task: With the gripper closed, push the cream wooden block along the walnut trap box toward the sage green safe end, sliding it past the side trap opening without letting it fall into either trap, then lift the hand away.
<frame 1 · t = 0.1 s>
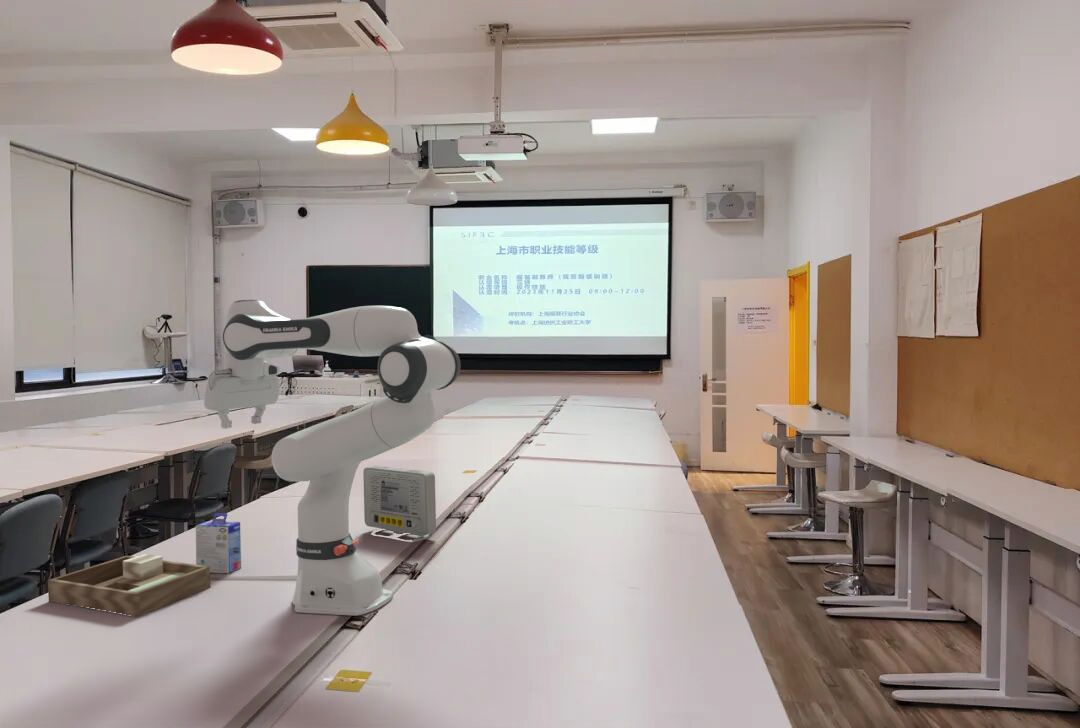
hand: (241, 425, 173), 39 cm above the table, tool pointing down, fingers open, 8 cm apart
network device: (399, 536, 218), on the table
block: (143, 575, 175), point 3 cm above the table, touching trap box
ink cartridge box: (219, 570, 188), on the table
trap box: (131, 594, 170), on the table
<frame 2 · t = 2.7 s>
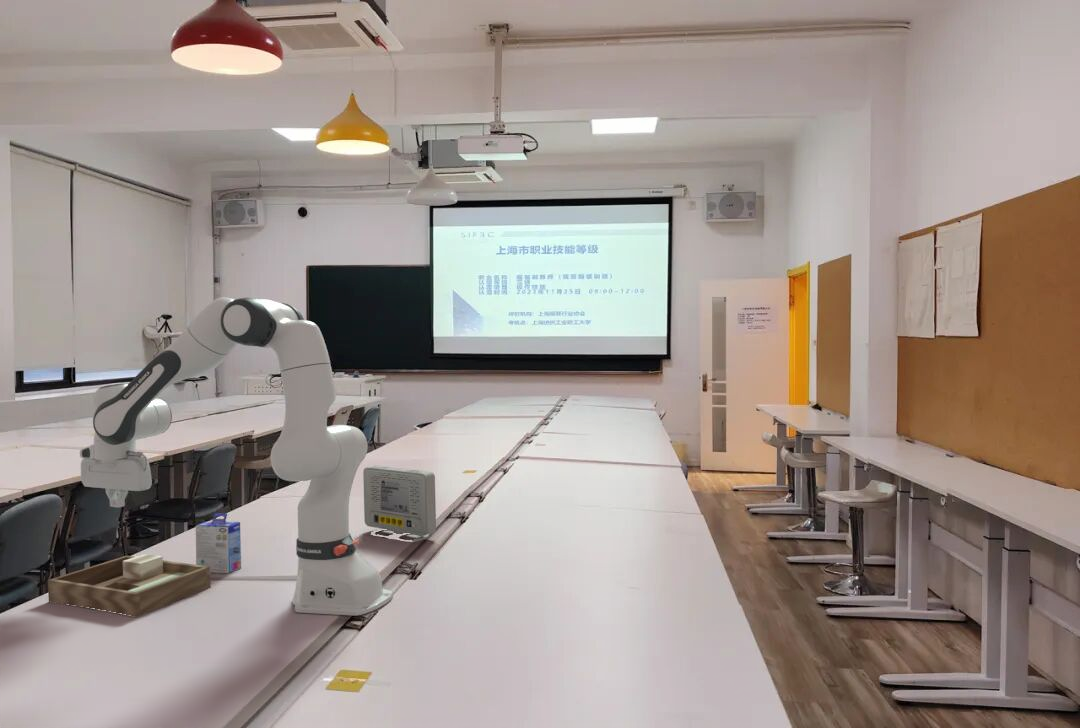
hand: (117, 506, 177), 19 cm above the table, tool pointing down, fingers closed
nothing on the table moved.
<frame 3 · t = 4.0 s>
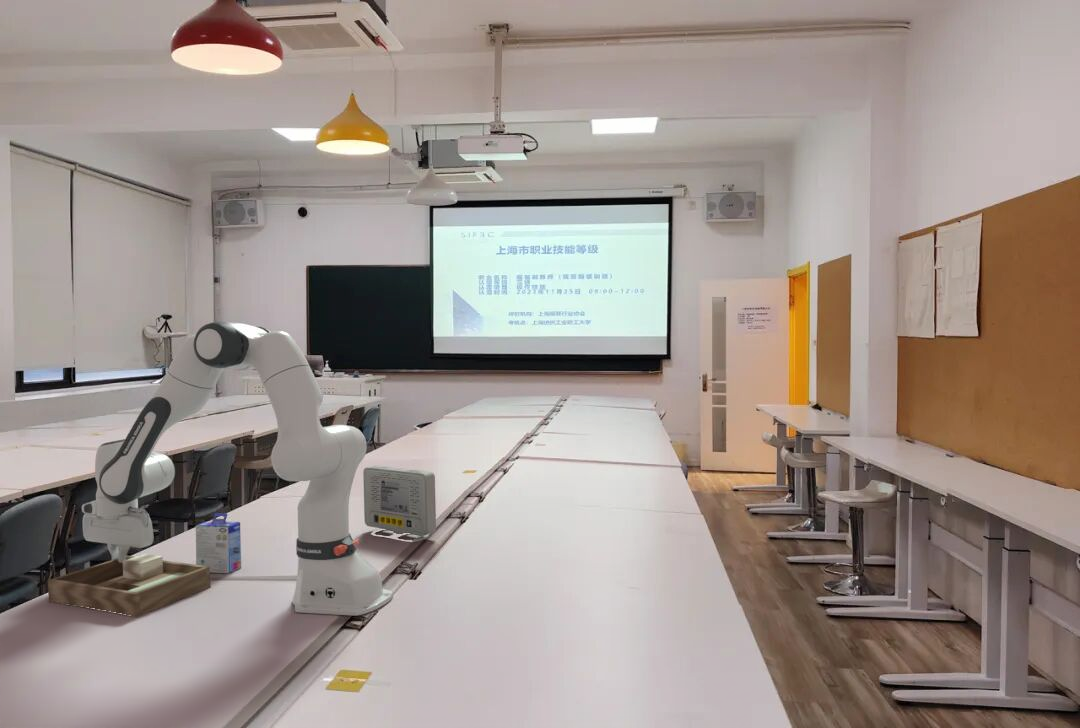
hand: (119, 561, 178), 5 cm above the table, tool pointing down, fingers closed
nothing on the table moved.
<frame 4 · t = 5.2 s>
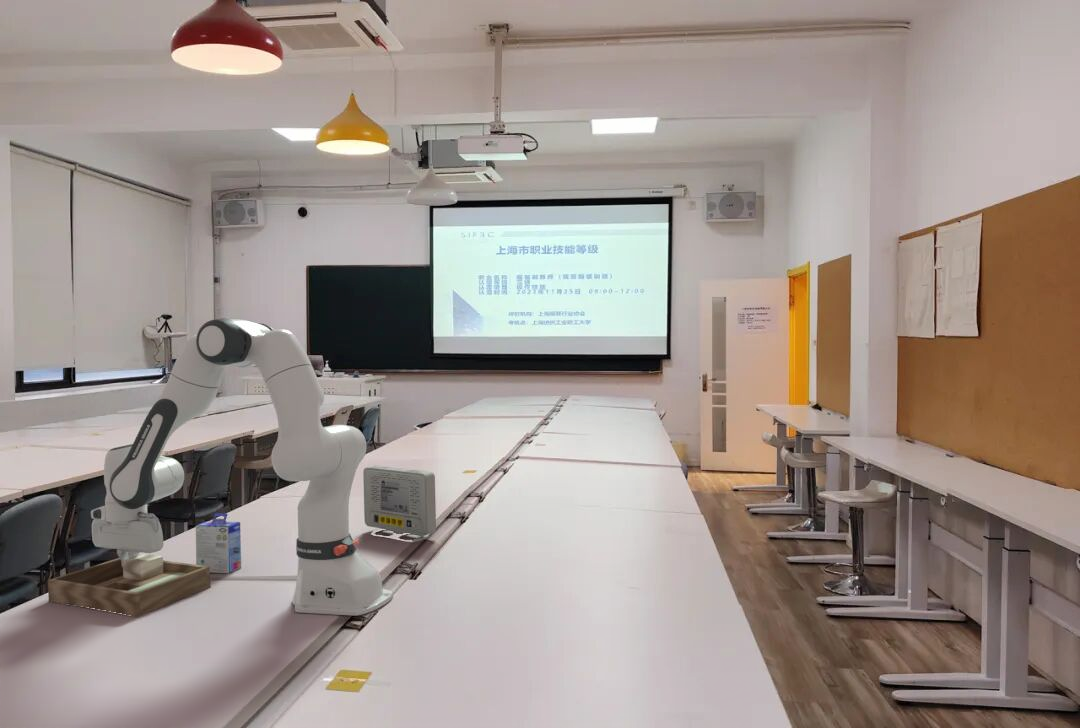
hand: (128, 567, 177), 4 cm above the table, tool pointing down, fingers closed
block: (143, 575, 175), point 3 cm above the table, touching gripper, trap box
everything else where it was.
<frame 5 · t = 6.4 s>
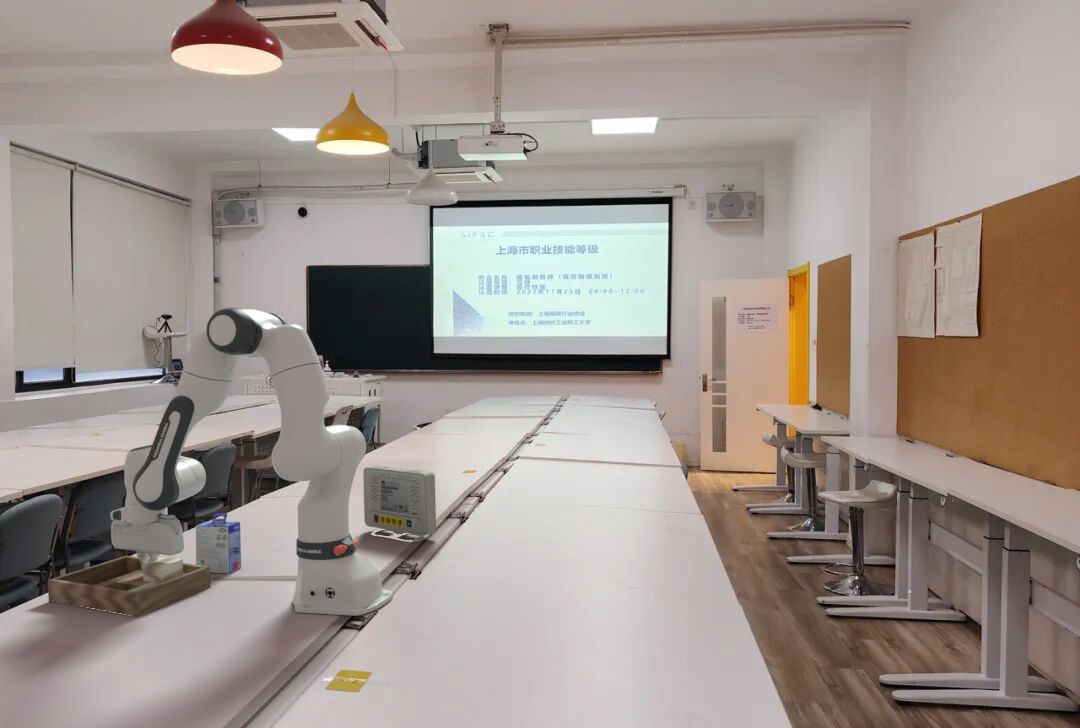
hand: (148, 569, 174), 5 cm above the table, tool pointing down, fingers closed
block: (163, 578, 172), point 3 cm above the table, touching gripper, trap box
everything else where it was.
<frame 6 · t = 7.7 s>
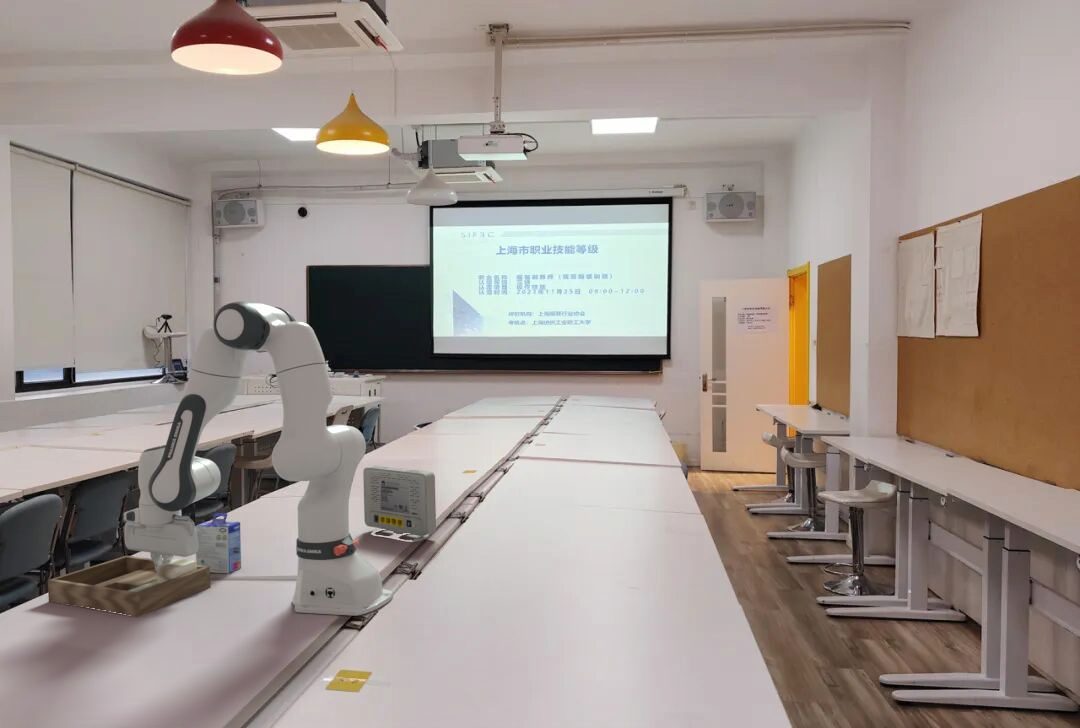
hand: (162, 571, 172), 5 cm above the table, tool pointing down, fingers closed
block: (177, 580, 171), point 3 cm above the table, touching gripper, trap box
everything else where it was.
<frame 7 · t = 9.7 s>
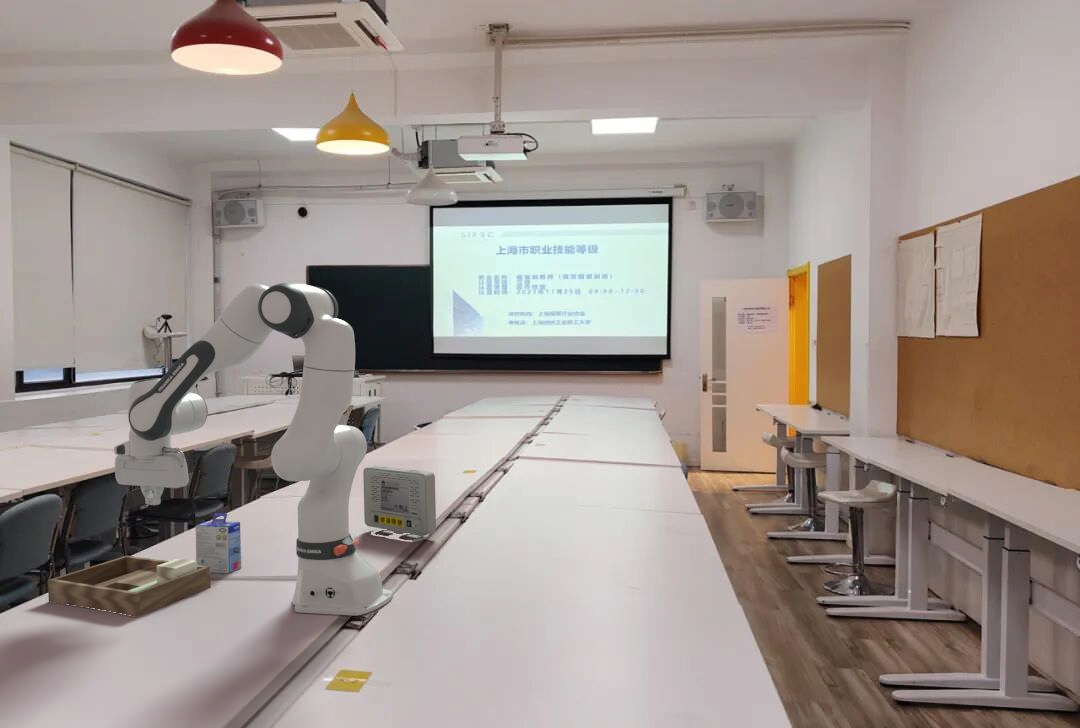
hand: (153, 504, 173), 20 cm above the table, tool pointing down, fingers closed
block: (177, 580, 171), point 3 cm above the table, touching trap box
everything else where it was.
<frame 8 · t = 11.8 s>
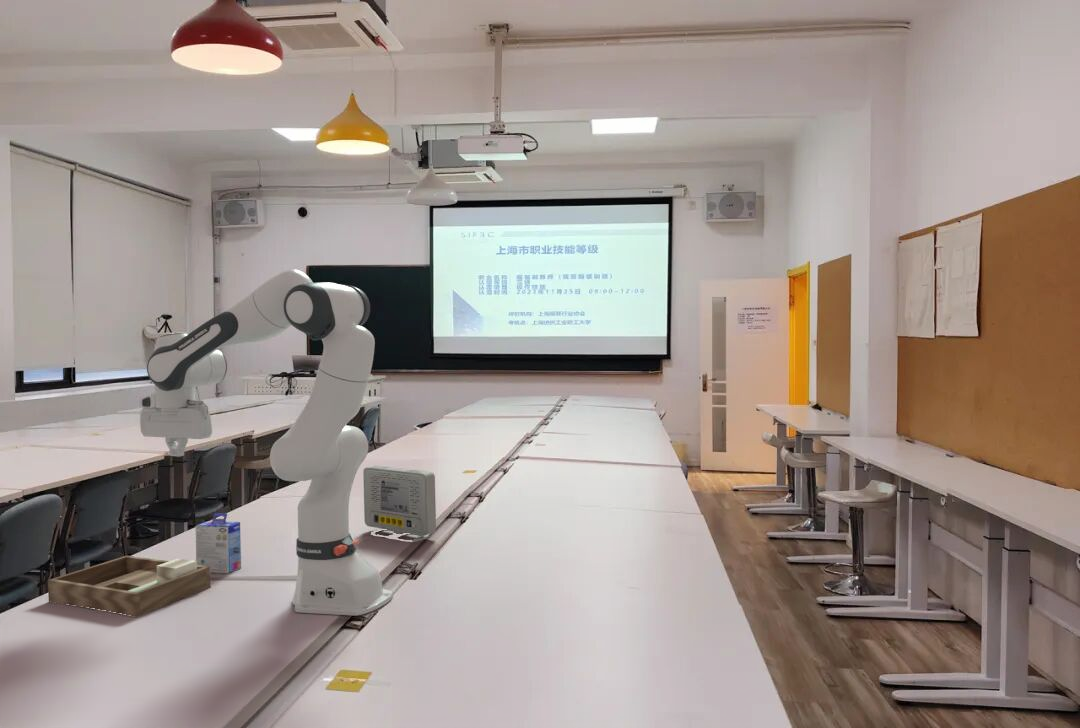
hand: (177, 455, 178), 31 cm above the table, tool pointing down, fingers closed
nothing on the table moved.
at the end: block inside the target area on the trap box (0.7 cm from its centre), point 3.0 cm above the trap box's base; block tilted 0°; ink cartridge box moved 0.3 cm from its start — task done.
